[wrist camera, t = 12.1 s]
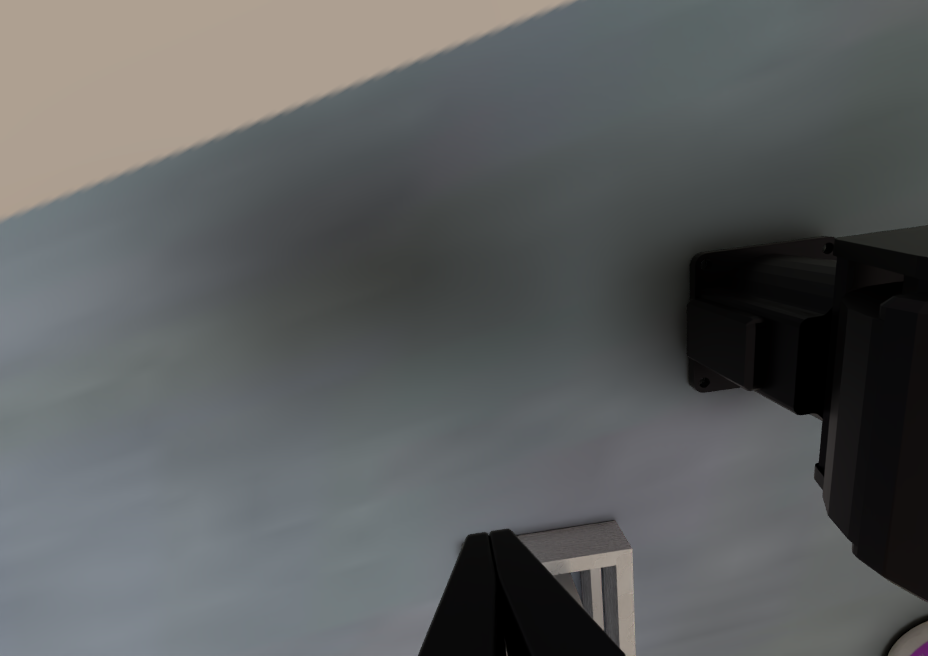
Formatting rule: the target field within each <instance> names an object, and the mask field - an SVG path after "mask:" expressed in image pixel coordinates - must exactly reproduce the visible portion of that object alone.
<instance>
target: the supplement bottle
mask: <svg viewBox="0 0 928 656" xmlns="http://www.w3.org/2000/svg"><path fill="white" fill-rule="evenodd" d="M888 656H928V621H927V622H924V623H922V624H920V625H918V626H916V627H914V628H912V629H911V630H909V631H908V632H907V633H905V634H904V635H903V636H902V637H900V638H899V639H898V640H897V642H896V643H895V644H894V645H893V647H892V648H891V650H890V651H889V653H888Z"/></svg>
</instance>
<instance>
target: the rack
mask: <svg viewBox="0 0 928 656" xmlns="http://www.w3.org/2000/svg"><path fill="white" fill-rule="evenodd" d="M517 537H518V538H519V539H520V540H521V541H522V543H523V544H524V545H525V546H526V547H527V548H528V549H529V550H530V551H531V552H532V553H533V554H534V556H535V557H536V558H537V559H538V560H539V561H540V562H541V563H542V564H543V565H544V566H545V567H546V569H547V570H548V571H549V572H550V573H551V574H552V575H558V574H564V573H570V572H577V571H580V573H581V588H582V602H583V607H584V610H585V611H586V612H587V613H588V614H589V615H590V616H591V617H592V618H593V620H594V621H595V622H596V623H597V624H598V625H599V626H600V627H601V628H602V629H603V630H604V623H603V604H602V585H601V568H602V567H603V586H604V605H605V624H606V634H607V635H608V636H609V637H610V638H611V639H612V640H613V641H614V642H615V643H616V644H617V646H618V647H619V648H620V649H621V650H622V651H623V652H624V653H625V655H626V656H636V653H635V621H634V588H633V556H632V547H631V546H630V544H629V542H628V541H627V539H626V537H625V536H624V534H623V532H622V531H621V529H620V527H619V526H618V524H617V522H616V521H609V522H602V523H596V524H589V525H583V526H577V527H570V528H564V529H557V530H551V531H544V532H538V533H531V534H525V535H519V536H517ZM462 546H463V544H462ZM505 646H506V645H505ZM506 654H507V651H506Z"/></svg>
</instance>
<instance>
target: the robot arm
mask: <svg viewBox="0 0 928 656" xmlns="http://www.w3.org/2000/svg"><path fill="white" fill-rule="evenodd" d="M825 244H826V249H825V251H824V252H823V247H824V245H825ZM703 260H706V262H707V264H706V267H705V268H704V269H701V262H702V261H703ZM687 356H689V382H690V385H691V387H692V388H694V389H695V390H697V391H699V392H703V393H705V392H712V391H718V390H725V389H732V388H739V387H742V388H744V389H746V390H748V391H755V392H757V393H759V394H761V395H762V396H764V397H766V398H768V399H770V400H772V401H773V402H775V403H777V404H779V405H781V406H782V407H784V408H786V409H788V410H790V411H791V412H793V413H795V414H797V415H806V414H810V415H812V416H814V417H816V418H818V419H820V420H822V432H821V444H820V455H819V463H816V464H815V471H814V479H815V480H816V482H817V483H818V484H819V486H820V487H821V488H822V490H823V500H824V503H825V507H826V510H827V514H828V516H829V517H830V518H831V520H832V521H833V522H834V523H835V524H836V526H837V527H838V528H839V529H840V530H841V531H842V533H843V534H844V535H845V536H846V537H847V539H849V540H850V541H851V542H852V552H853V554H854V555H855V556H856V557H857V558H858V559H859V560H861V561H862V562H863V563H865V564H866V565H867V566H869V567H870V568H872V569H873V570H874V571H876V572H877V573H879V574H880V575H881V576H883V577H884V578H886V579H887V580H888V581H890V582H892V583H893V584H895V585H897V586H899V587H901V588H902V589H904V590H906V591H908V592H909V593H911V594H913V595H915V596H917V597H918V598H920V599H922V600H924V601H926V602H928V225H926V226H919V227H911V228H904V229H897V230H890V231H882V232H875V233H868V234H860V235H853V236H846V237H838V238H834V237H824V236H821V237H813V238H806V239H798V240H791V241H783V242H776V243H768V244H761V245H753V246H746V247H738V248H731V249H723V250H716V251H708V252H701V253H698V254H696V255H695V256H694V257H693V258H692V260H691V263H690V301H689V303H688V304H687ZM702 378H705V380H704V382H703V383H702V384H700V385H699V382H700V380H701V379H702ZM505 645H506V646H505ZM506 651H507V654H506ZM418 656H626V655H625V653H624V652H623V651H622V650H621V649H620V648H619V647H618V646H617V644H616V643H615V642H614V641H613V640H612V639H611V638H610V637H609V636H608V635H607V634H606V633H605V631H604V630H603V629H602V628H601V627H600V626H599V625H598V624H597V623H596V622H595V621H594V620H593V618H592V617H591V616H590V615H589V614H588V613H587V612H586V611H585V610H584V609H583V608H582V606H581V605H580V604H579V603H578V602H577V601H576V600H575V599H574V598H573V597H572V596H571V595H570V593H569V592H568V591H567V590H566V589H565V588H564V587H563V586H562V585H561V584H560V583H559V582H558V580H557V579H556V578H555V577H554V576H553V575H552V574H551V573H550V572H549V571H548V570H547V569H546V567H545V566H544V565H543V564H542V563H541V562H540V561H539V560H538V559H537V558H536V557H535V556H534V554H533V553H532V552H531V551H530V550H529V549H528V548H527V547H526V546H525V545H524V544H523V543H522V541H521V540H520V539H519V538H518V537H517V536H516V535H515V534H514V533H513V532H512V531H511V530H510V529H501V530H495V531H491V532H490V533H489V535H488V533H486V532H482V533H476V534H470V535H468V536H467V537H466V539H465V542H464V544H463V546H462V549H461V551H460V554H459V556H458V559H457V561H456V564H455V566H454V568H453V571H452V573H451V576H450V578H449V581H448V583H447V586H446V588H445V591H444V593H443V595H442V598H441V600H440V603H439V605H438V608H437V610H436V613H435V615H434V617H433V620H432V622H431V625H430V627H429V630H428V632H427V635H426V637H425V639H424V642H423V644H422V647H421V649H420V652H419V654H418Z"/></svg>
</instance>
